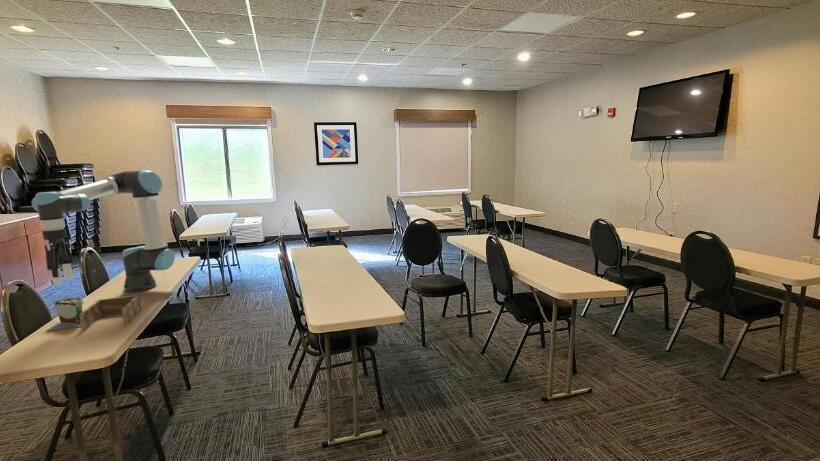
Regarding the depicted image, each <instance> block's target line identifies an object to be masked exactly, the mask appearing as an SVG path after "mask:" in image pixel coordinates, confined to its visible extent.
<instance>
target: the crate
mask: <svg viewBox="0 0 820 461" xmlns="http://www.w3.org/2000/svg"><path fill="white" fill-rule="evenodd" d="M140 297H141V295H139V294H135V295H128V296H119V297H118V296H117V297H112V298H110V297H109V298H102V299H97V300H96V301H95V302H93V303H92V304H91V305H90V306H89V307H86V309H85V310H82V311H83V312H82V313H81V314H79V317H80V322H81V327H80V328H81V331H86V330H87V329H89V328H90V327H91V326H92V325H93V324H94V323H95V322H96V321H97V320H99V319H98V318H100V317H101V318H102V316H103V314H104V315H110V314H119V313H122V315H121V316H122V321H123V326H124V325H128V324H130V322H131V321H132V320H133V319H134V318H135V317H136V316H137V315H138V313H139V312H140V311H141V310H142V305H141V298H140Z"/></svg>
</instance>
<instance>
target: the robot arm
mask: <svg viewBox="0 0 820 461" xmlns="http://www.w3.org/2000/svg"><path fill="white" fill-rule="evenodd" d="M162 188H163V181H162V179H161V177H160V176H159V175H158V174H157V173H156V172H154V171H153V170H152V171H151V170H126V171H122V172H118V173H114V174H111V175H108V176H104V177H102V178H101V180H97V181H94V182H91V183H86V184H83V185H80V186H79V185H78V186H75V187H72V188H68V189H65V190H61V191H47V192H42V191H41V192H37V193H36V194H35V197H33V198H32V200H31V206H32V208H33V209H34V210H35V211H36V212H37V213H38V217H39V221H40V222H39V224H40V227H41V230H42V238H43V240H45V241H48V245H47V244H45V245H44V249H45V259H46V260H45V261H46V269H47V270H48V271H50V272H51V278H52V281H53V285H54V286H57V285H60V286H61V285H63V279H62V278H63V277H62V273H61V269H60V268H59V264H60V263H59V262H60V259H61V261H62V263H63V264H62V265H61V266H62V271H63V276H64V280H67V279H73V278H74V275H73V270H72V264H73V263H74V261H73V256H72V252H71V250H70V247H69V246H70V245H69V240H68V239H64V238H67V237H68V235H67V228H66V223H65V218H64V214H68V213H75V212H76V213H77V212H83V211H86V210H89V209H90V206H91V201H92V200H95V199H98V198H100V197H101V198H102V197H104V196H108V195H109V196H115V195H118V194H131V195H132V199H134V200H136V201H137V203H136V204H137V207H138V213H139V218H140V223H141V228H142V233H143V240H144V245H139V246H136V247H135V246H134V247H129V248H126V249H124V250H123V251H122V261H123V266H124V267H123V268H124V272H125V278H124V279H125V280H124V282H123V283H124V284H123V291H125V292H127V293H128V292H129V293H130V292H131V293H132V292H133V293H134V292H141V291H147V290H151V289H153V288H155V287H156V286H157V281H156V279H155V277H154V276H153V274H152V272H151V271H157V272H160V271H166V270H168V269H170V268H171V267H172V266H173V265H174V263H175V259H176V255H175V251H173V250H172V249H170V248H169V245H168V243H166V242H165V241H164V236H163V231H162V224H161V219H160V213H159V208H158V204H157V203H158V202H157V198H158V196H159V195H160V194H159V192H161V190H162ZM59 258H60V259H59Z"/></svg>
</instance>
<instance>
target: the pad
mask: <svg viewBox="0 0 820 461" xmlns="http://www.w3.org/2000/svg"><path fill="white" fill-rule="evenodd" d="M76 328H81V323H79V324H66V323H60V321H59V322H56V323H54V324H53V325H52V326H51V327H49V328H48V329H46V330H45V331H46V332H52V331H59V330H60V331H61V330H68V329H76Z"/></svg>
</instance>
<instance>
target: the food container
mask: <svg viewBox="0 0 820 461" xmlns="http://www.w3.org/2000/svg"><path fill="white" fill-rule="evenodd" d="M84 303H85V302H84V300H83V299H82V298H81V297H78V296H77V297H67V298H62V299H61V298H60V299H57V300H54V302H53V304H54V306H55V309H56V311H57V315H58V319H59V322H60V323H66V324H79V323H81V322H80V317H79V314H81V313H82V312H83V311H84V310H83V304H84Z"/></svg>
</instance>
